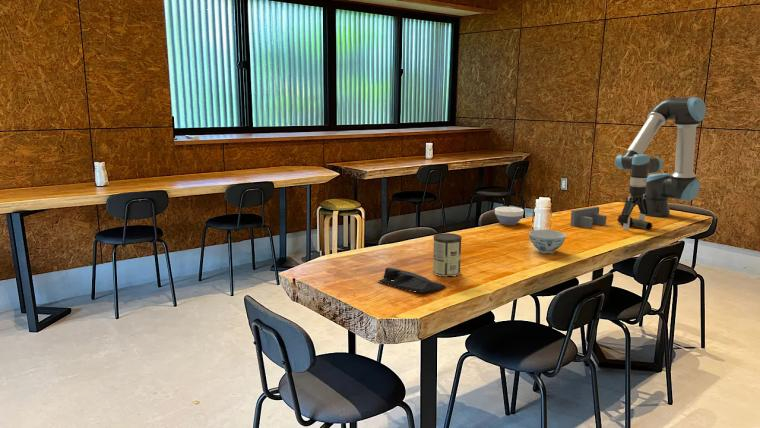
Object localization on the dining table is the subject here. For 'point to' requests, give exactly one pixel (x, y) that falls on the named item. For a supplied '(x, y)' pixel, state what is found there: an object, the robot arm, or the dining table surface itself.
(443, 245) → the coffee can
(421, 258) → the dining table surface
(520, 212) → the bowl
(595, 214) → the socket block
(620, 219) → the black flashlight
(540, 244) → the chinaware
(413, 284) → the black cloth
